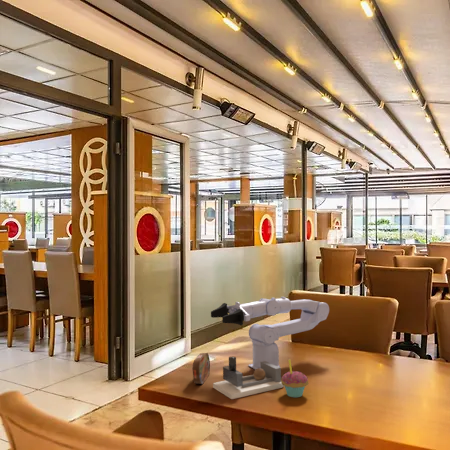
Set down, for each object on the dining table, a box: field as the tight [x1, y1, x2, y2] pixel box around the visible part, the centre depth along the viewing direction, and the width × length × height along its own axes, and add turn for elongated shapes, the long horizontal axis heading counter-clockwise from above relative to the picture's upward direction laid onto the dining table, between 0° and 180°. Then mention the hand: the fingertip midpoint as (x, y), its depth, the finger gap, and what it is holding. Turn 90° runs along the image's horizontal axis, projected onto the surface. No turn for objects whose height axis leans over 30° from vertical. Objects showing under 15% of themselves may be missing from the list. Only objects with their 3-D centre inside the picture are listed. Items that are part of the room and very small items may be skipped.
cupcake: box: [281, 358, 309, 398], centre depth 145 cm, size 9×8×12 cm
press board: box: [212, 361, 285, 400], centre depth 152 cm, size 20×12×6 cm, turn 120°
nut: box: [253, 368, 265, 380], centre depth 154 cm, size 4×4×4 cm
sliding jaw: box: [222, 355, 244, 387], centre depth 149 cm, size 2×9×8 cm, turn 30°
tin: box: [192, 352, 211, 385], centre depth 160 cm, size 15×3×8 cm, turn 168°
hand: (217, 317), depth 162 cm, fingers open, 7 cm apart
